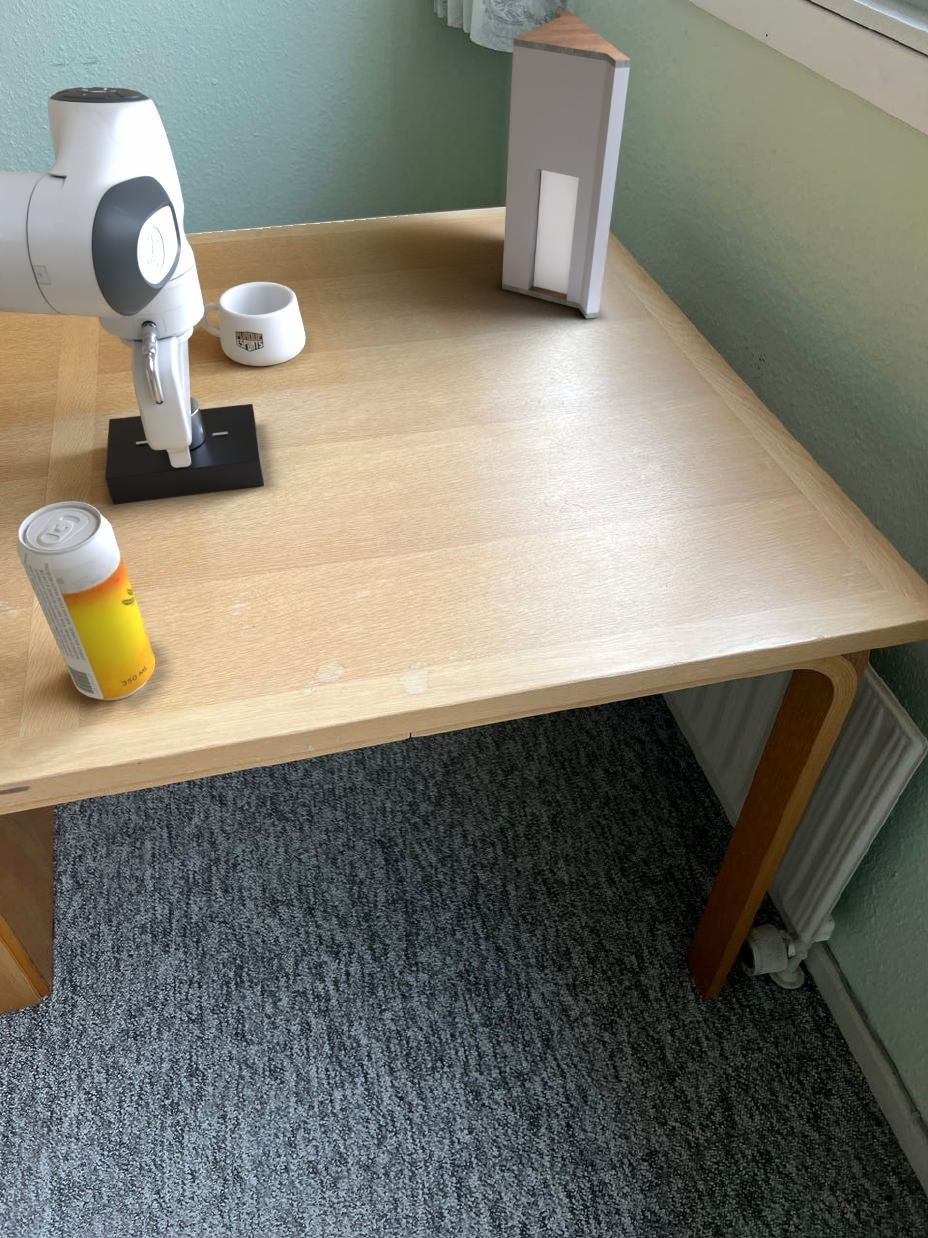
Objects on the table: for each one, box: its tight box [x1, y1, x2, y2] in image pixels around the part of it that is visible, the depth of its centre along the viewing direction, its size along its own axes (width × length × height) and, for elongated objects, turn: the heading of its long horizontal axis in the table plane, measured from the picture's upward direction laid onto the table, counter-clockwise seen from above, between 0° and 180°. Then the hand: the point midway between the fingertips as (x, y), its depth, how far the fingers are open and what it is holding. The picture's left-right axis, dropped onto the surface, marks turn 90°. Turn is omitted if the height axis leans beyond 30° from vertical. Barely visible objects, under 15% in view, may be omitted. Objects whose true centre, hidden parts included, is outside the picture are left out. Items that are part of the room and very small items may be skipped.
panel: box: [104, 403, 265, 505], centre depth 90 cm, size 14×10×3 cm
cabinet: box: [501, 9, 631, 319], centre depth 110 cm, size 21×10×28 cm, turn 13°
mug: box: [200, 281, 306, 367], centre depth 105 cm, size 12×10×6 cm
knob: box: [189, 396, 206, 450], centre depth 87 cm, size 4×4×4 cm
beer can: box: [16, 500, 156, 701], centre depth 66 cm, size 6×6×15 cm
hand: (181, 434), depth 88 cm, fingers open, 8 cm apart
